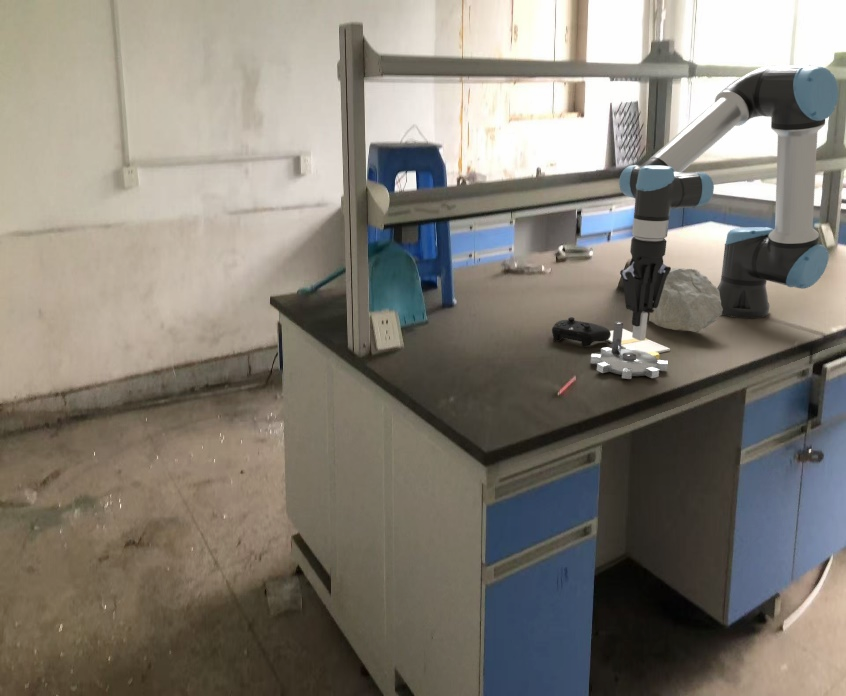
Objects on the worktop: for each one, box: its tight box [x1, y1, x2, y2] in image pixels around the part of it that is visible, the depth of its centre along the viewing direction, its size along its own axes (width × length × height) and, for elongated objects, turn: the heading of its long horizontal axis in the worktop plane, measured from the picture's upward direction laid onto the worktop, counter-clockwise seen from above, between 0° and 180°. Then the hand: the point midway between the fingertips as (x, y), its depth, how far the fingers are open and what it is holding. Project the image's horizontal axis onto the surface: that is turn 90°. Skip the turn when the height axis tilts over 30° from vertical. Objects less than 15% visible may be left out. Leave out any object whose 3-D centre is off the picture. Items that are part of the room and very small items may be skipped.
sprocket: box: [590, 321, 668, 380], centre depth 176 cm, size 17×17×9 cm
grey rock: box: [649, 266, 723, 333], centre depth 202 cm, size 22×13×15 cm, turn 31°
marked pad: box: [606, 328, 671, 354], centre depth 194 cm, size 9×17×1 cm, turn 26°
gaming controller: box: [551, 317, 611, 347], centre depth 194 cm, size 14×6×10 cm
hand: (638, 338), depth 183 cm, fingers closed
